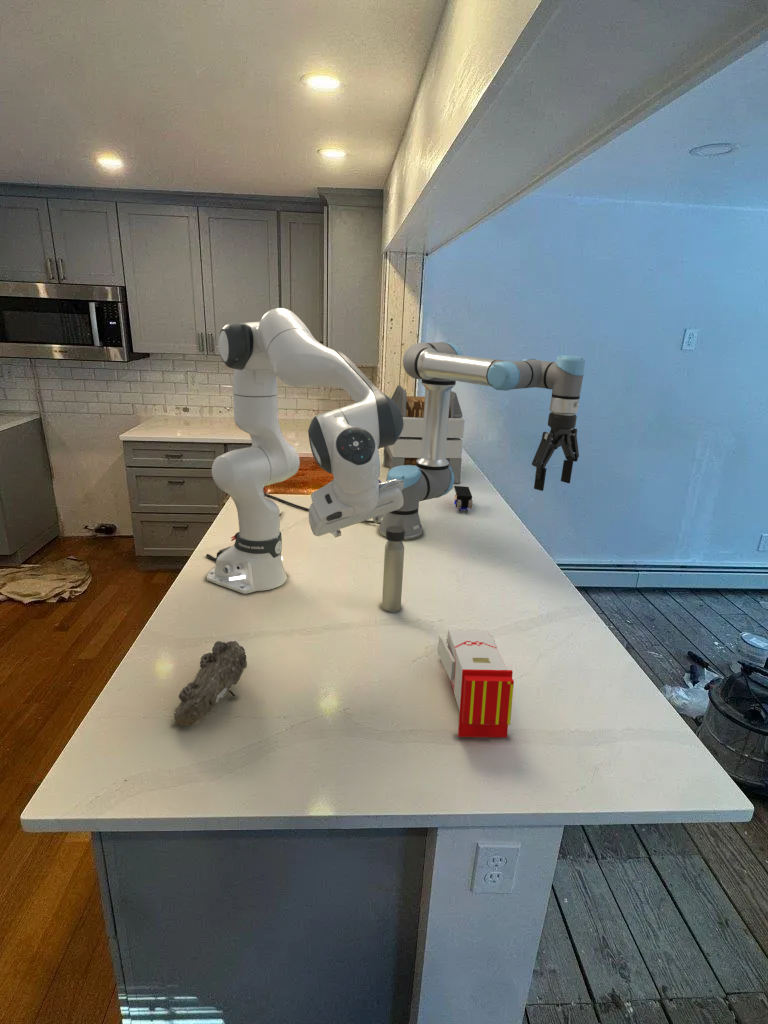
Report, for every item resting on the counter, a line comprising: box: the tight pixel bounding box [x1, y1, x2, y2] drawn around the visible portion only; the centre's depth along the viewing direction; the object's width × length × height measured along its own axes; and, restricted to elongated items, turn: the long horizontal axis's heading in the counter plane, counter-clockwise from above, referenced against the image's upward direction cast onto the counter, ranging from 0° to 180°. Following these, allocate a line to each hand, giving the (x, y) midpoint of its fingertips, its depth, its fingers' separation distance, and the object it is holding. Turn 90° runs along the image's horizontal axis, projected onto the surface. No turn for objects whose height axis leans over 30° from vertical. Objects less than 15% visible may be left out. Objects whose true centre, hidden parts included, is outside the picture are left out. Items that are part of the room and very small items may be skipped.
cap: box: [385, 526, 405, 542], centre depth 144 cm, size 5×5×2 cm
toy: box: [437, 628, 515, 738], centre depth 117 cm, size 12×13×30 cm
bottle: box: [381, 540, 405, 613], centre depth 147 cm, size 5×5×22 cm
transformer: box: [383, 384, 465, 484], centre depth 268 cm, size 34×33×41 cm
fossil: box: [173, 640, 248, 727], centre depth 113 cm, size 22×10×15 cm
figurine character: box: [453, 485, 474, 513], centre depth 227 cm, size 7×8×15 cm
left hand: (357, 527), depth 124 cm, fingers open, 8 cm apart
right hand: (552, 485), depth 166 cm, fingers open, 13 cm apart
